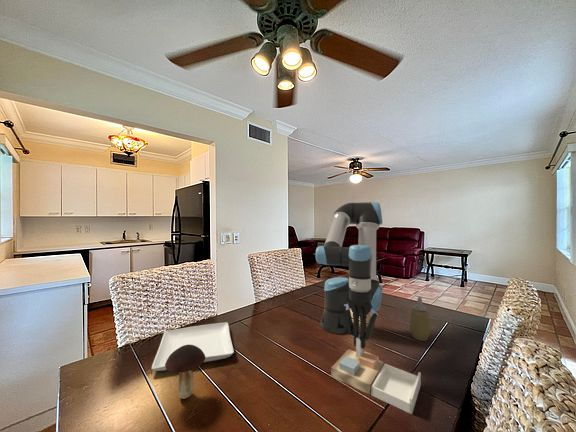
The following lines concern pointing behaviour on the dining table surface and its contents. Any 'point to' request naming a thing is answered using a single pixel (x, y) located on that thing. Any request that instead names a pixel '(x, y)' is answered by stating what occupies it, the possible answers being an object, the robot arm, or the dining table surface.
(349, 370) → the tile slate
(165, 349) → the square plate
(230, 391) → the dining table surface
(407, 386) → the tray
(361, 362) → the tile terracotta
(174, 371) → the decorative mushroom
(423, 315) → the squeeze bottle
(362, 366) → the beige flat block
